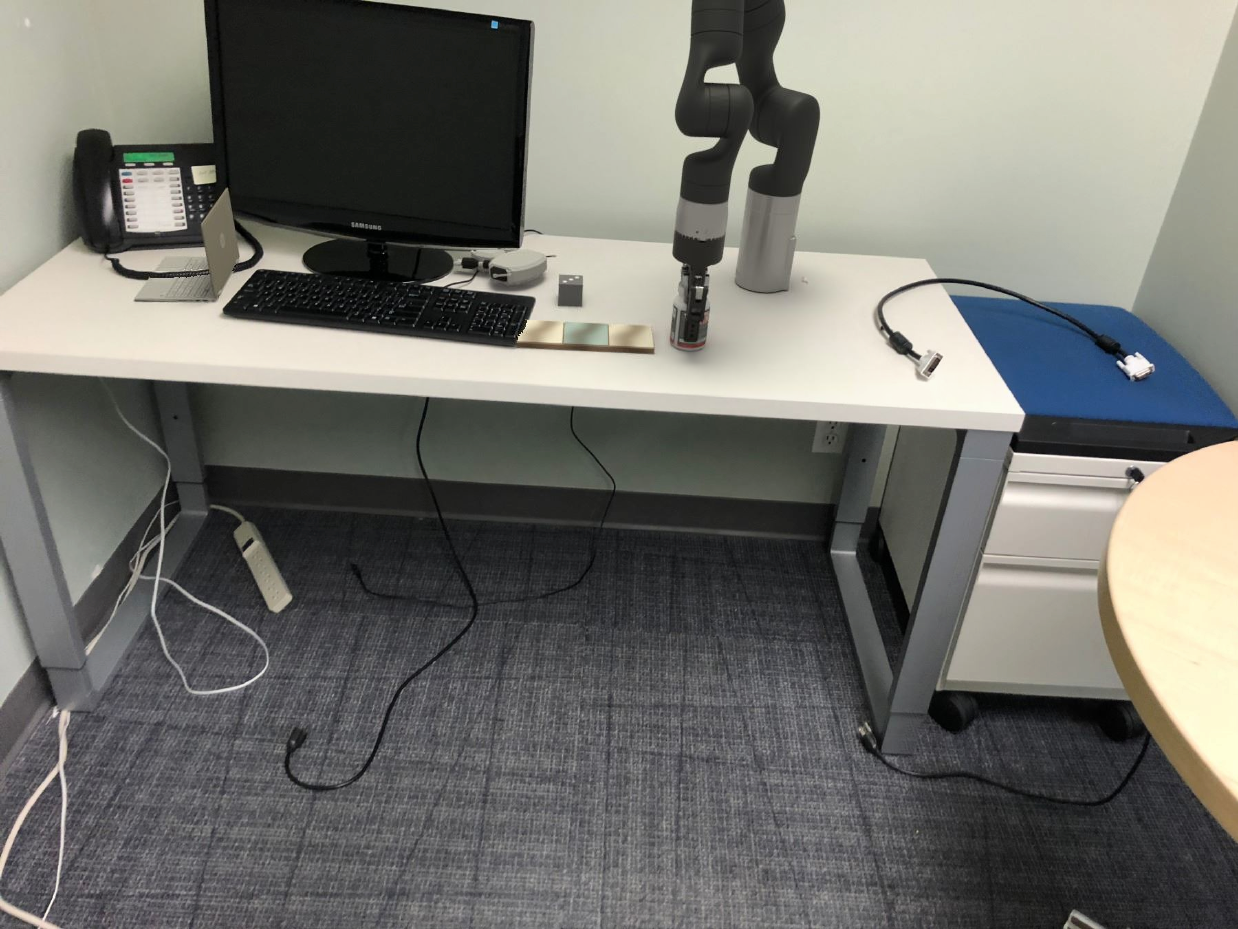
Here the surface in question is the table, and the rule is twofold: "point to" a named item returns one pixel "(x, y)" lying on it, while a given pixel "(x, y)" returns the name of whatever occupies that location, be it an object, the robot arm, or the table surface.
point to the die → (570, 290)
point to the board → (587, 337)
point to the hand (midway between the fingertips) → (688, 331)
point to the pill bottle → (679, 323)
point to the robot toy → (507, 264)
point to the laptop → (200, 262)
